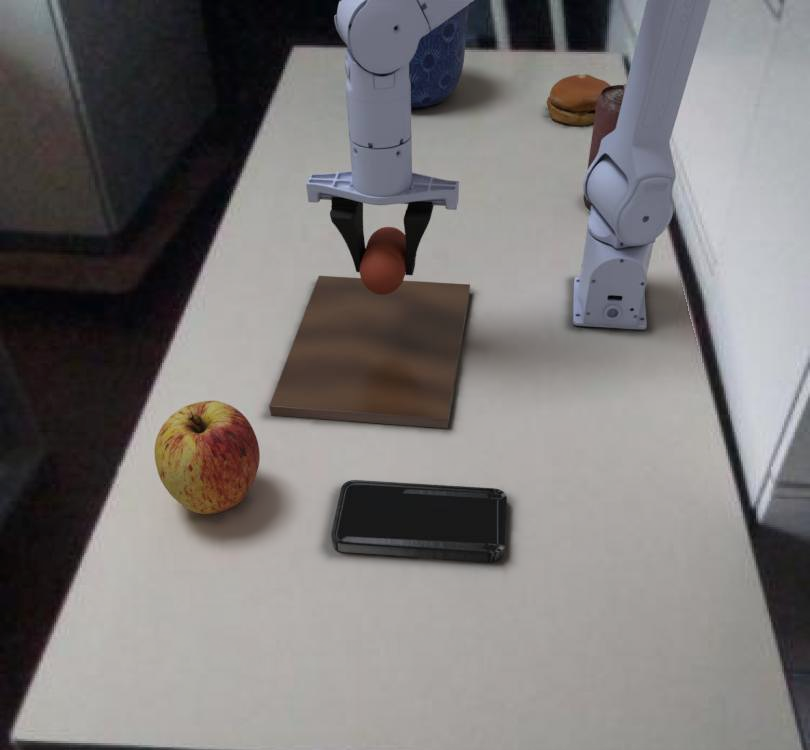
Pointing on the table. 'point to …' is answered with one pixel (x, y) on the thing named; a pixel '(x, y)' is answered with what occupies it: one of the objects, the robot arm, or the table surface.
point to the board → (375, 354)
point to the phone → (420, 520)
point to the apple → (207, 456)
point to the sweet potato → (384, 261)
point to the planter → (438, 61)
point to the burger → (575, 99)
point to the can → (605, 119)
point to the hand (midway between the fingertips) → (386, 268)
